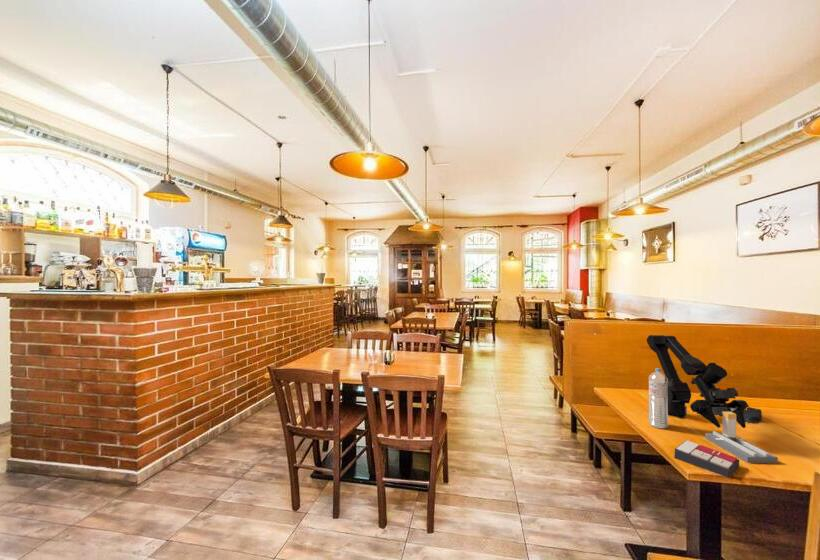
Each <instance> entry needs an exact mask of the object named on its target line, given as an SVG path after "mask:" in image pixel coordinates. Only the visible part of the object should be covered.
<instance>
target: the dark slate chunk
mask: <svg viewBox="0 0 820 560" xmlns="http://www.w3.org/2000/svg"><path fill="white" fill-rule="evenodd" d="M712 411H713V414H714V415H715V416H717V415H719V416H718V417H721V416H722V412H731V411H729V410H728V409H727V408H712ZM743 415H744V420H745V423H746V422H748V423H747V424H750V423H753V424H754V423H758V424H759V423H760V422H761V421H762V419H763V414H762V410H761V409H760V408H755V407H750V406H749V407H747V408H746V409H745V410H744V412H743Z"/></svg>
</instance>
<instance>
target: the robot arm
mask: <svg viewBox="0 0 820 560" xmlns="http://www.w3.org/2000/svg"><path fill="white" fill-rule="evenodd" d="M646 343H647V344H648V347H649V349H650V350H651V351H653V352H654V353H655V354H656V356H657V358H658V361H659V364H660V366H661V369H662V372H663V374H664V375H665V376H666V378H667V379H668V416H671V417H676V418H680V419H684V418H685V417H687V415H688V413H687V412H688V406H687V405H686V404H690V405H689V406H690V407H689V408H690V409H691V411H692V412H693V413H696V414H697V415H699V416H702V417H703V418H704V419H706V420H707V421H709V422H710V423H711V424H712V425H713V426H715V427H717V428H718V429H720V428H722V427H721V426H722V425H721V424H720V422H719V421H718V419H717V417H716V415H714V414H713V411H712V408H727V409H728V410H729V411H731V412H733V413H735V414H736V423H738V424H739V426H741V428H742V429H745V428H747V427H746V422H745V420H744V415H743V412H744V410H747V408H748V407H750V406H749V404H748V403H747V401H746V400H743V399H736V397H739V393H738V390H737V389H736V388H735V387H727V388H726V389H721V388H719V387H717V386H716V385H717V384H718V383H720V382H721V381H722V380H724V379H725V378H726V377H727V376H728V372H727V370H726V369H725V368H724V367H722V366H720V365H718V364H716V362H709V363H708V364H707V365H706V363H704V362H703V361H702V360H701V359H700V358H697V357H695V356H693V355H692V354H691V353H689V351H688V350H687V349H686V348H685V347H684V346H683V345H682V344H681V342H679V340H677V337H676V336H675V335H664V334H650V335H648V337H647V338H646ZM669 350H670V351H671V353H672V354H673V355H674V356H675V357H676V358H677V359H678V361H679V362H680V367H681V369H682V370H683V371H684V373H685V374H686V375H688V376H695V377H692V378H691V381H690V384H691V385H696V387H697V389H698V391H699V392H700V394H699V397H701V398H703V399H696V400H694V401H693V402H692V403H690V402H691V400H692V399H691V398H692V391H691V389H690V388H689V387H690V386H689V385H688V383H687V382H683V381H682V380H681V379H680V376H679V374H678V371H677V370H676V367H675V365H674V362H673V360H672V358H671V355H670V353H669ZM730 399H733V400H732V401H730ZM729 401H730V402H729Z"/></svg>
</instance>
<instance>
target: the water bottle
mask: <svg viewBox="0 0 820 560" xmlns="http://www.w3.org/2000/svg"><path fill="white" fill-rule="evenodd" d="M661 369H662V368H658V367H657V368H656V367H655V369H654V370H655V371H654V372H652V373H650V375H648V423H649V425H650V426H651V427H653V428H656V429H661V430H662V429H664V430H665V429H667V428H668V427H669V415H668V379H667V378H666V376H665V374H664V373H662V372H661Z"/></svg>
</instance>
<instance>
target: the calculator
mask: <svg viewBox="0 0 820 560" xmlns="http://www.w3.org/2000/svg"><path fill="white" fill-rule="evenodd" d="M673 457H674V459H675V460H679V461H681V462H684V463H687V464H692V465H693V466H695V467H696V466H697V467H699V468H701V469H703V470H706V471H709V472H712V473H714V474H717V475H719V476H722V477H726V478H731V477H732V476H733V475H734V474H733V473H734V472H735V473H736V472H737V470H739V468H740V460H739V459H738V457H737V456H733V455H730V454H727V453H724V452H722V451H719V450H716V449H713V448H712V447H711V448H710V447H708V446H705V445H703V444H701V445H700V444H698V443H695V442H692V441H690V440H684V441H683V442H682V443H680V444H679V445H678V446H676V447H675V448H674V455H673ZM732 474H733V475H732Z"/></svg>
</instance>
